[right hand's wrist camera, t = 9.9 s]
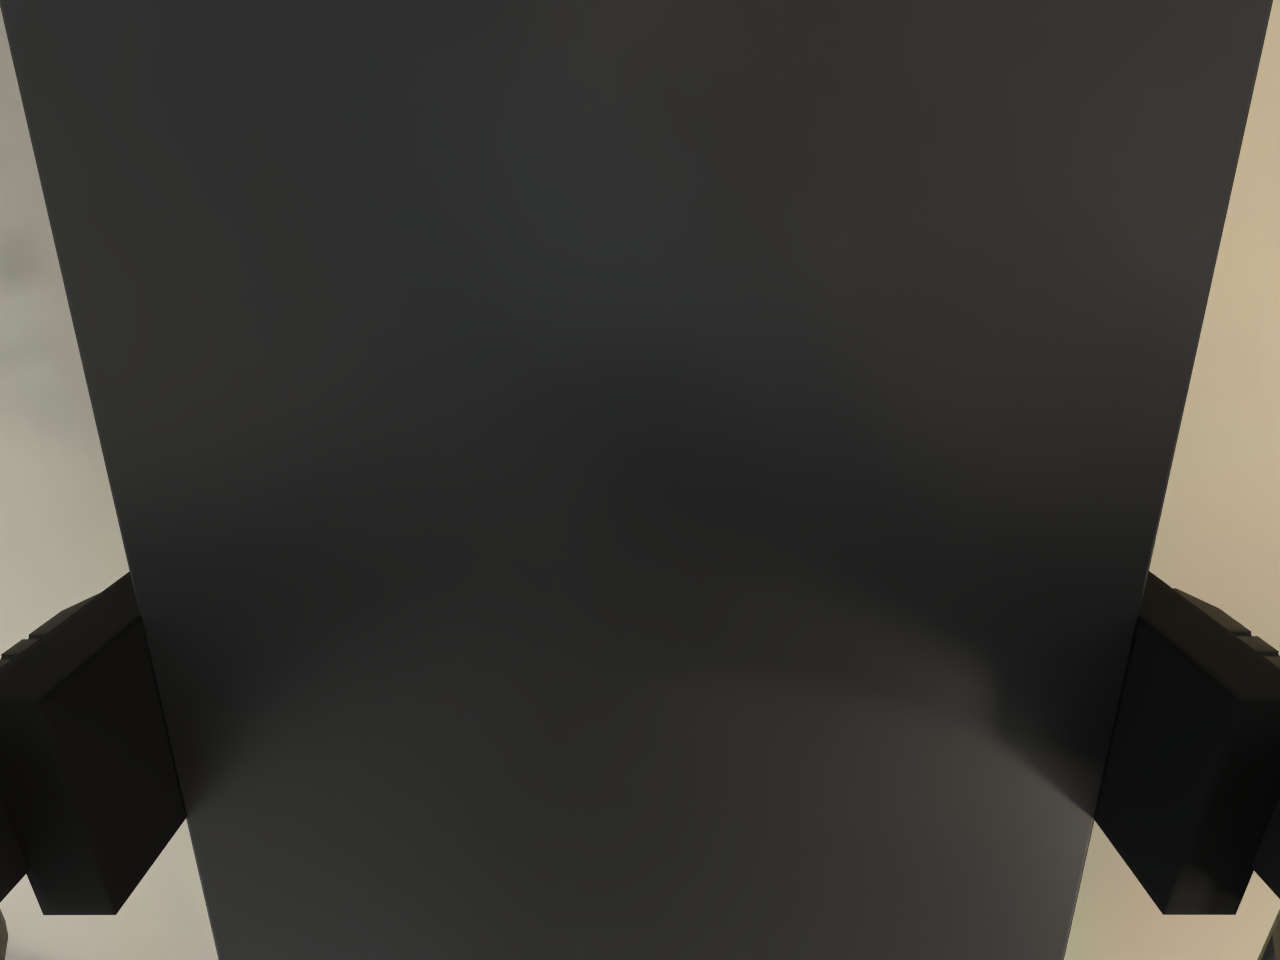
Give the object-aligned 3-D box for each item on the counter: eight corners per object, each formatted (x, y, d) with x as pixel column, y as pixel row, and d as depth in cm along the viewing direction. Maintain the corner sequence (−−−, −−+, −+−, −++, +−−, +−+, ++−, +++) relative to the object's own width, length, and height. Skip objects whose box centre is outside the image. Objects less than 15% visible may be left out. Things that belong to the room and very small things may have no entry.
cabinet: (313, -151, 12) (-180, -759, 5) (961, -155, 12) (1446, -772, 5) (408, 690, 17) (230, 1024, 10) (873, 689, 17) (1052, 1022, 10)
